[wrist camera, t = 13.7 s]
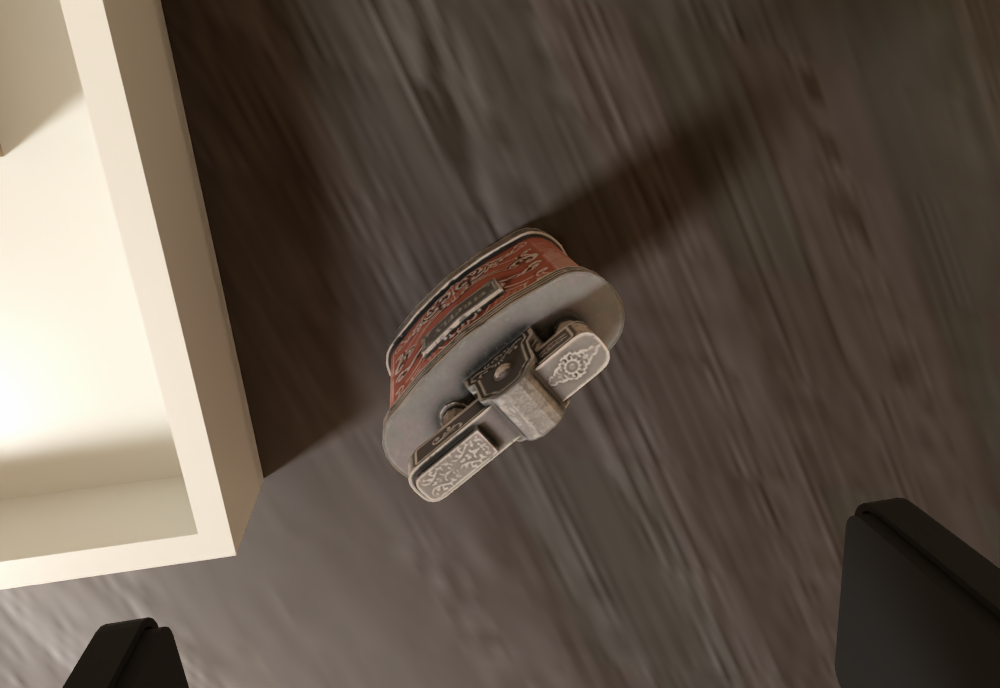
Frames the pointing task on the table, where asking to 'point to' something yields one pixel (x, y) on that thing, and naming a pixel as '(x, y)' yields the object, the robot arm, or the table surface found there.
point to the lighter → (494, 358)
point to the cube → (0, 152)
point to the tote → (109, 308)
